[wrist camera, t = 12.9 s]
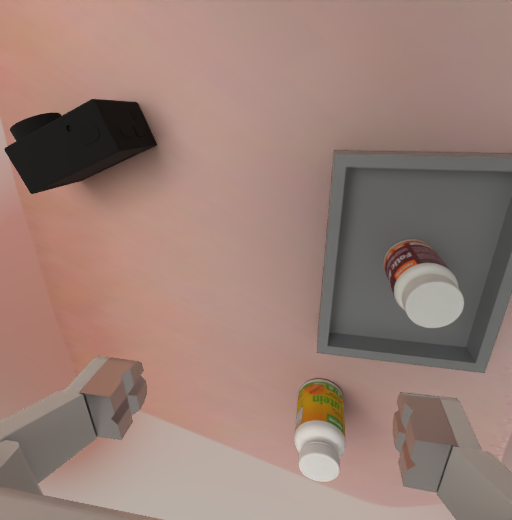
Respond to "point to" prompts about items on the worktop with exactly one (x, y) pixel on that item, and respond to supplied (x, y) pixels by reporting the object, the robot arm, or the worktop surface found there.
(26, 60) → the worktop surface
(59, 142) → the digital camera
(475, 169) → the tray
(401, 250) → the pill bottle
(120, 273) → the worktop surface
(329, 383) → the supplement bottle
